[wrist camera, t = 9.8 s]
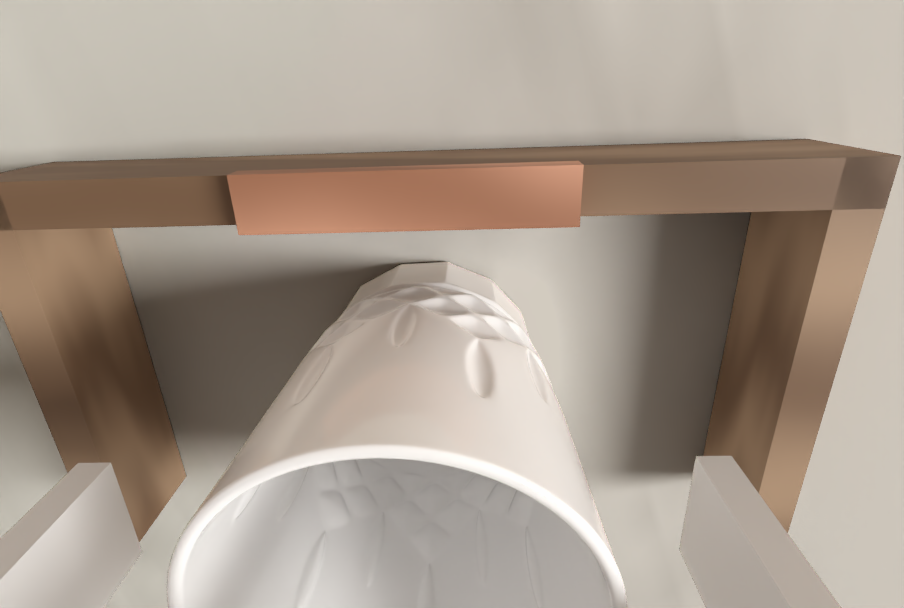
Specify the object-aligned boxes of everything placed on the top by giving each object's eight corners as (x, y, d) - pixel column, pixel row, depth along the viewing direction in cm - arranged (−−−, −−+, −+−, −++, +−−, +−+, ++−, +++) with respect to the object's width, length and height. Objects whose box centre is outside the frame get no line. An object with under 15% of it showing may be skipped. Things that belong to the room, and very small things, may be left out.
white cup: (273, 341, 18) (74, 612, 9) (438, 190, 16) (398, 346, 7) (427, 476, 20) (394, 803, 11) (593, 360, 18) (720, 652, 9)
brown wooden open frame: (731, 474, 20) (793, 567, 16) (156, 476, 21) (87, 564, 17) (809, 135, 15) (923, 154, 11) (52, 158, 16) (-79, 183, 12)
